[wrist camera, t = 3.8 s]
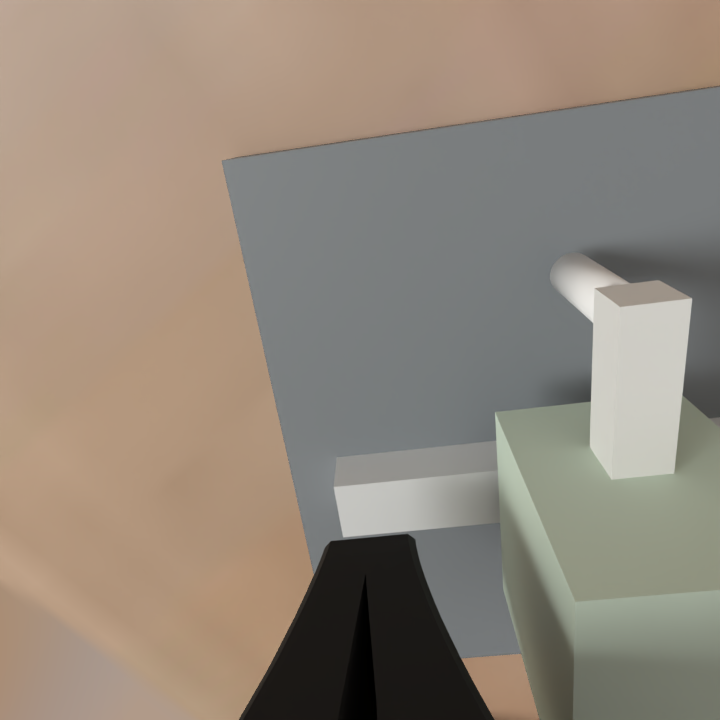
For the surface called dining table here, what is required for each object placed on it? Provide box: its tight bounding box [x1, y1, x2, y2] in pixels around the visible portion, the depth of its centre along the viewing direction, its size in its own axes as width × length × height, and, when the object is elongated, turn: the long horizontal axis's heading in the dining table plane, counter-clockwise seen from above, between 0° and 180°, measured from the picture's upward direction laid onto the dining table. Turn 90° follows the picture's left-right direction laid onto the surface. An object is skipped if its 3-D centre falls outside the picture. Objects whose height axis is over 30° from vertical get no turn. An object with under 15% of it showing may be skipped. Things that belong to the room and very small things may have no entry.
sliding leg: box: [495, 253, 720, 720], centre depth 8 cm, size 6×3×5 cm, turn 8°
